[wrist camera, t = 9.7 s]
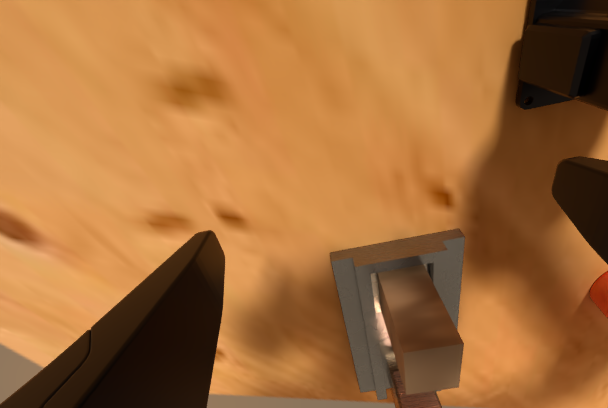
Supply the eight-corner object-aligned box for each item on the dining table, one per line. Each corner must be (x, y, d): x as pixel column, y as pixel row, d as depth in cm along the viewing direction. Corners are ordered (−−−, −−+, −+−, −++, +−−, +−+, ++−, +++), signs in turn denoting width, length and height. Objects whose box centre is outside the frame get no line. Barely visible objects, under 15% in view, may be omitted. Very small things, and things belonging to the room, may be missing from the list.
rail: (458, 228, 24) (523, 316, 18) (449, 369, 35) (487, 457, 28) (329, 252, 25) (344, 345, 18) (358, 383, 36) (375, 472, 29)
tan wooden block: (421, 260, 24) (463, 343, 18) (421, 307, 27) (458, 391, 22) (375, 268, 25) (403, 353, 19) (381, 314, 28) (406, 399, 22)
